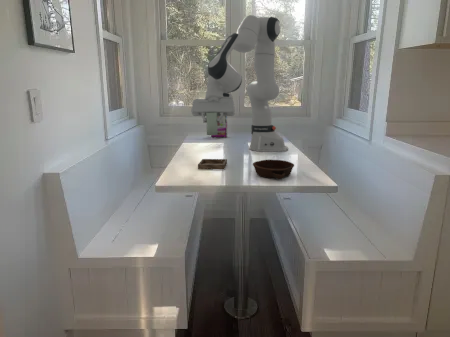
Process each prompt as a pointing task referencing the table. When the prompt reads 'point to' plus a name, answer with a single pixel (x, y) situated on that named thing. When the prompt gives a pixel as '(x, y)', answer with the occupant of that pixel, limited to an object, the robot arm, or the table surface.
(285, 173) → the dish
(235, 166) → the table surface
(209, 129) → the sage ceramic canister
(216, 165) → the walnut tray
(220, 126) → the candy bar box
